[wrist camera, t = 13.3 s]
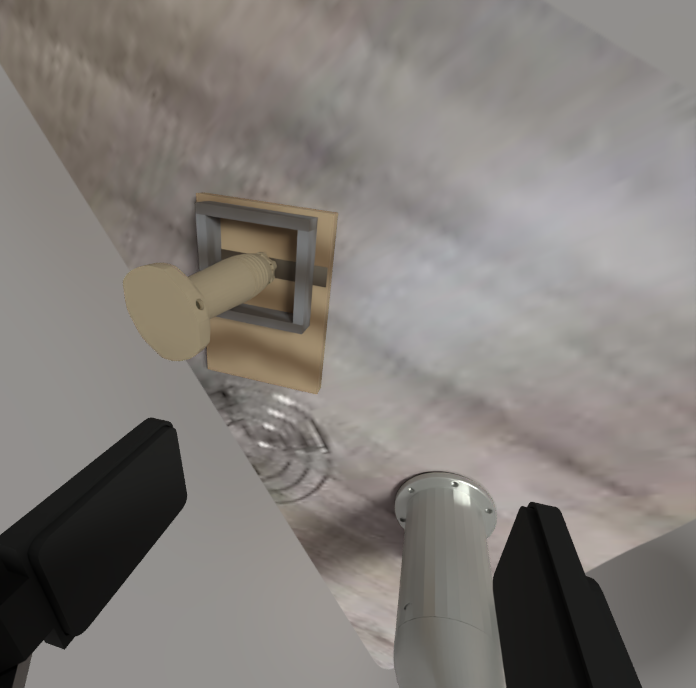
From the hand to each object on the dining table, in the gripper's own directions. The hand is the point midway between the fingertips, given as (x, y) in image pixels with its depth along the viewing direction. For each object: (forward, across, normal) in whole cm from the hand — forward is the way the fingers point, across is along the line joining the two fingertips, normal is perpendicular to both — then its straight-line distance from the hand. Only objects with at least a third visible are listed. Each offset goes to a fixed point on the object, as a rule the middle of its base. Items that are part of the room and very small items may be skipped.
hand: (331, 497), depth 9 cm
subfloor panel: (+28, +15, +5) cm, 32 cm away
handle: (+27, +14, +1) cm, 30 cm away
